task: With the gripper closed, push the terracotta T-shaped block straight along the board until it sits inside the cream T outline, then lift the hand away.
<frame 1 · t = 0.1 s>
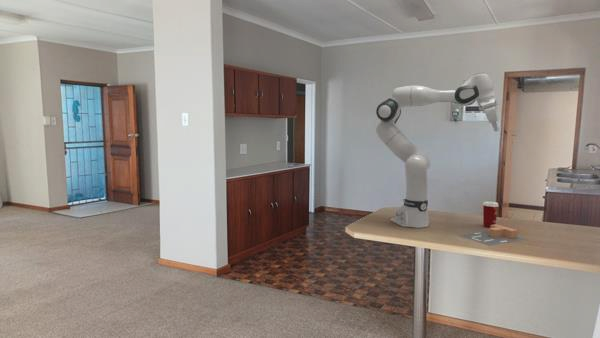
hand: (496, 130, 202), 52 cm above the breakfast bar, tool tilted 20°, fingers open, 8 cm apart
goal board: (492, 239, 197), on the breakfast bar
t block: (500, 235, 199), point 1 cm above the breakfast bar, touching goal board
paper cup: (489, 228, 217), on the breakfast bar
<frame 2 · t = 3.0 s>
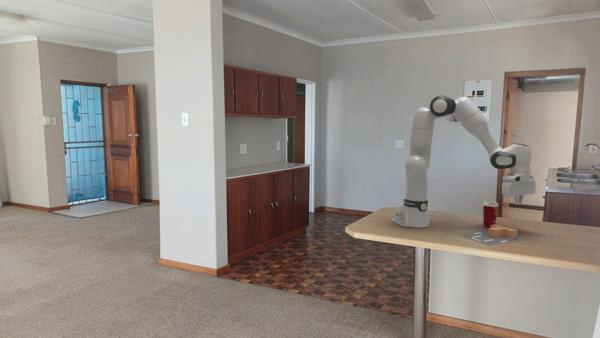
hand: (518, 204, 202), 16 cm above the breakfast bar, tool pointing down, fingers closed
nothing on the breakfast bar moved.
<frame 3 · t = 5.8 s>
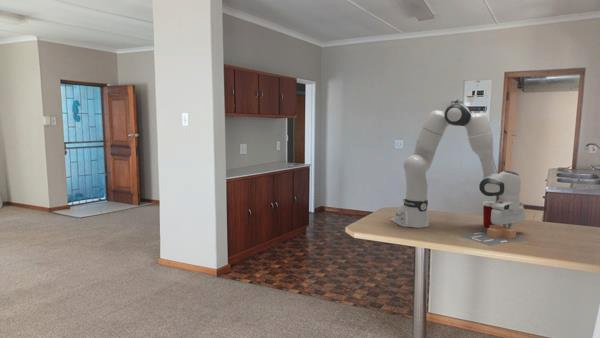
hand: (507, 231, 201), 3 cm above the breakfast bar, tool pointing down, fingers closed
t block: (499, 236, 198), point 1 cm above the breakfast bar, touching gripper
everything else where it was.
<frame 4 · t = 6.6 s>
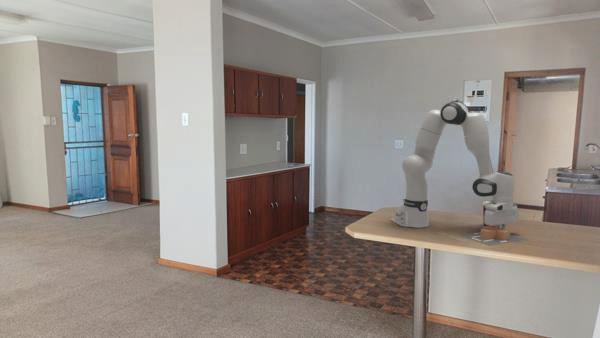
hand: (500, 232, 199), 3 cm above the breakfast bar, tool pointing down, fingers closed
t block: (492, 237, 196), point 1 cm above the breakfast bar, touching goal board, gripper
everything else where it was.
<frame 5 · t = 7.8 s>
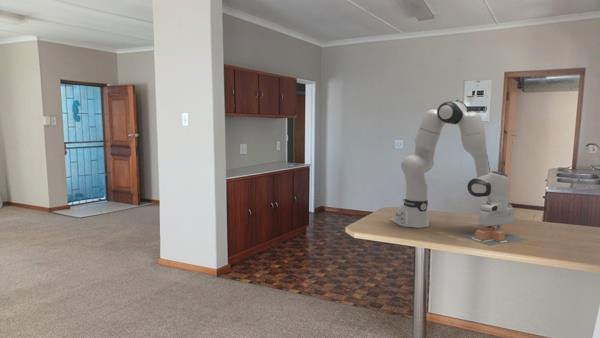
hand: (495, 233, 197), 3 cm above the breakfast bar, tool pointing down, fingers closed
t block: (487, 238, 195), point 1 cm above the breakfast bar, touching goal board, gripper
everything else where it was.
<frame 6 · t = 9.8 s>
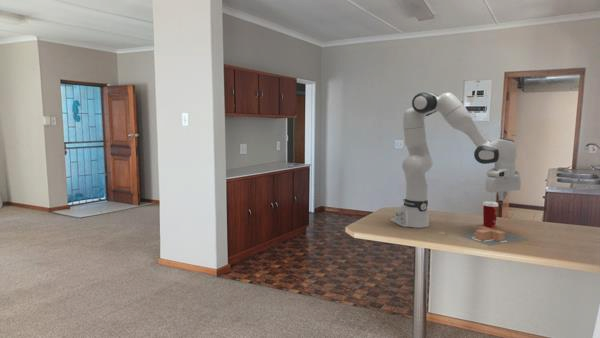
hand: (502, 200, 197), 19 cm above the breakfast bar, tool pointing down, fingers closed
t block: (487, 238, 195), point 1 cm above the breakfast bar, touching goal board
everything else where it was.
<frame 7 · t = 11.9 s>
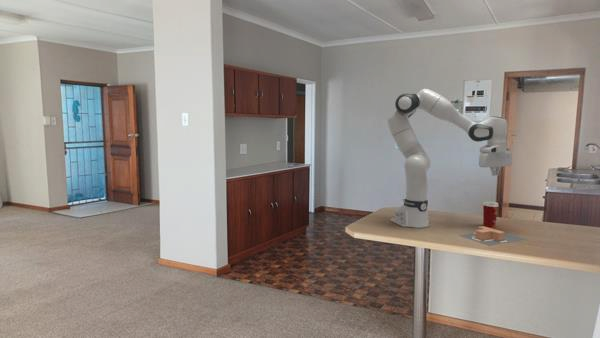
hand: (494, 175, 208), 29 cm above the breakfast bar, tool pointing down, fingers closed
nothing on the breakfast bar moved.
at the end: t block 0.3 cm from the target spot, point 1.0 cm above the breakfast bar; t block tilted 0°; t block moved 9.0 cm from its start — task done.
